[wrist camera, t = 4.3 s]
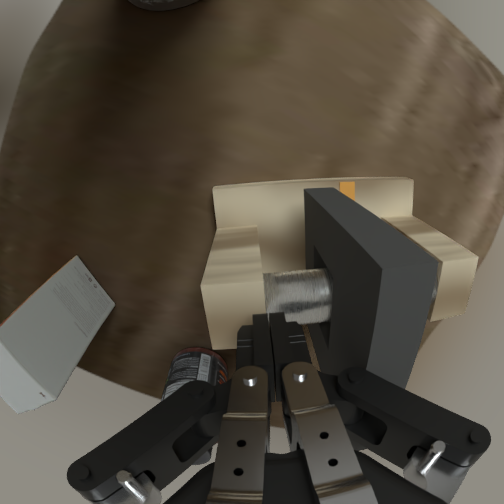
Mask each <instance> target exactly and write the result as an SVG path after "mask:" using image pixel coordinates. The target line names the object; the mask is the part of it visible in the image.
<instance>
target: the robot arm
mask: <svg viewBox="0 0 504 504" xmlns="http://www.w3.org/2000/svg"><path fill="white" fill-rule="evenodd" d="M129 1H130V2H131V3H132V4H133V5H135V6H137V7H140V8H142V9H147V10H155V11H164V10H172V9H177V8H180V7H184V6H187V5H190V4H192V3H194V2H197V1H199V0H129ZM252 319H253V325H242V326H241V328H240V329H239V331H238V332H237V353H236V371H235V373H234V374H233V376H232V378H231V379H230V380H228V381H227V382H225V383H222V384H219V385H215V386H212V385H211V384H210V383H208V382H206V381H203V380H193V381H189V382H187V383H185V384H184V385H182V386H181V387H180V388H179V389H177V390H176V391H175V392H173V393H172V394H171V395H169V396H168V397H167V398H165V399H164V400H163V401H161V402H160V403H159V404H157V405H156V406H155V407H153V408H152V409H151V410H149V411H148V412H146V413H145V414H144V415H142V416H141V417H140V418H138V419H137V420H135V421H134V422H133V423H131V424H130V425H128V426H127V427H126V428H124V429H123V430H121V431H120V432H118V433H117V434H115V435H114V436H113V437H111V438H110V439H108V440H107V441H106V442H104V443H102V444H101V445H99V446H98V447H96V448H95V449H93V450H92V451H91V452H89V453H87V454H86V455H84V456H83V457H81V458H80V459H78V460H76V461H75V462H74V463H72V464H71V465H70V467H69V468H68V472H67V480H68V482H69V484H70V485H71V486H72V487H73V488H74V489H75V490H76V491H78V492H79V493H80V494H81V495H82V496H83V497H84V498H85V499H86V500H88V501H89V502H90V503H92V504H160V503H161V498H162V496H161V492H160V491H161V490H162V489H163V488H165V487H166V486H167V485H168V484H170V483H171V482H172V481H173V480H174V479H176V478H177V477H178V476H179V475H180V474H182V472H184V471H185V470H186V469H187V468H189V467H190V466H191V465H192V464H193V463H194V462H196V461H197V460H198V459H199V458H200V457H201V456H202V455H203V454H204V453H206V452H207V451H208V450H209V449H210V448H211V447H212V446H213V445H214V444H215V443H216V442H218V447H217V453H216V459H215V462H213V463H211V464H209V465H207V466H205V467H204V468H202V469H201V470H200V471H199V472H197V473H196V474H195V475H194V476H193V477H192V478H191V479H190V480H189V481H188V482H187V483H186V484H184V485H183V487H181V488H180V489H179V490H178V491H177V492H176V493H175V494H173V495H172V496H171V497H170V498H169V499H168V500H167V501H166V502H164V503H163V504H450V502H451V500H452V499H453V497H454V495H455V493H456V491H457V490H458V489H459V487H460V485H461V483H462V481H463V480H464V478H465V476H466V474H467V472H468V470H469V468H471V466H472V465H473V464H474V463H475V462H476V461H477V460H478V459H479V458H480V457H481V456H482V454H483V453H484V452H485V451H486V450H487V448H488V447H489V445H490V442H491V436H490V433H489V431H488V430H487V429H486V428H485V427H484V426H482V425H480V424H478V423H476V422H473V421H471V420H469V419H467V418H464V417H462V416H460V415H458V414H456V413H453V412H451V411H449V410H447V409H444V408H442V407H440V406H438V405H436V404H434V403H432V402H430V401H428V400H426V399H424V398H421V397H419V396H417V395H415V394H413V393H411V392H409V391H407V390H405V389H403V388H401V387H399V386H397V385H395V384H393V383H391V382H389V381H387V380H385V379H383V378H381V377H379V376H377V375H375V374H373V373H371V372H369V371H367V370H366V369H363V368H360V367H350V368H347V369H344V370H343V371H342V372H341V373H340V374H339V375H330V374H325V373H322V372H320V371H318V370H317V369H316V368H315V367H314V366H313V365H312V362H311V358H310V355H309V351H308V347H307V343H306V340H305V336H304V332H303V329H302V326H300V325H299V324H298V323H297V322H296V321H291V322H286V319H285V314H284V312H275V313H269V321H268V313H263V314H252ZM269 329H270V330H269ZM274 383H275V389H274ZM275 392H276V401H277V402H278V401H282V410H283V420H284V424H285V429H286V433H287V438H288V442H289V446H290V452H289V453H287V454H275V453H270V414H271V402H275ZM349 438H351V439H352V440H354V441H356V442H357V443H359V444H360V445H362V446H364V447H365V448H367V449H369V450H370V451H372V452H374V453H376V454H377V455H379V456H381V457H382V458H384V459H386V460H388V461H389V462H391V463H393V464H395V465H397V466H398V467H400V468H402V469H404V470H403V474H404V478H403V477H401V476H399V475H398V474H396V473H395V472H393V471H391V470H390V469H388V468H387V467H385V466H383V465H382V464H380V463H379V462H377V461H375V460H374V459H372V458H371V457H369V456H367V455H366V454H364V453H362V452H359V451H356V450H354V449H353V447H352V444H351V442H350V439H349Z"/></svg>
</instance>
